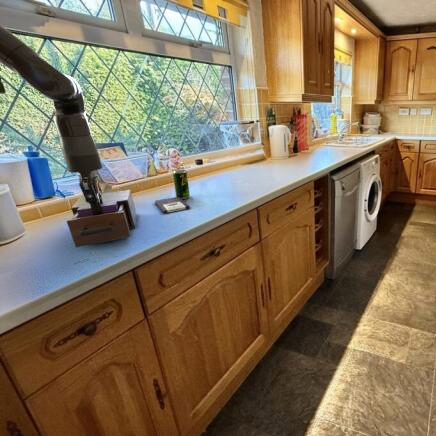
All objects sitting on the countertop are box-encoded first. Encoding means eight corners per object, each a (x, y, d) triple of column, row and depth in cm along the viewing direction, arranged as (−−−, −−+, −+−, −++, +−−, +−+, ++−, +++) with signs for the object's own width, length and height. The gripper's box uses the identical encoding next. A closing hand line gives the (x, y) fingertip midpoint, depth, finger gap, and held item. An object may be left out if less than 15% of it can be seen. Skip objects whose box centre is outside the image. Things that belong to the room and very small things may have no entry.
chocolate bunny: (98, 208, 120) (91, 183, 117) (118, 202, 127) (111, 179, 123) (106, 209, 118) (99, 185, 114) (126, 204, 124) (120, 180, 121)
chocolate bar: (178, 196, 129) (189, 205, 115) (178, 198, 129) (189, 208, 116) (155, 200, 124) (163, 211, 110) (155, 202, 124) (163, 213, 111)
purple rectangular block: (79, 218, 84) (76, 210, 83) (82, 214, 87) (79, 206, 87) (117, 212, 88) (115, 204, 87) (118, 209, 92) (116, 201, 91)
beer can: (173, 198, 128) (169, 170, 125) (182, 195, 134) (178, 168, 130) (184, 199, 127) (180, 171, 124) (192, 196, 132) (189, 169, 129)
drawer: (129, 242, 84) (122, 216, 82) (72, 254, 79) (62, 226, 76) (132, 222, 100) (126, 200, 97) (85, 230, 94) (77, 207, 92)
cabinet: (135, 228, 97) (127, 199, 94) (81, 238, 91) (71, 207, 88) (136, 215, 110) (130, 189, 107) (89, 222, 104) (81, 196, 101)
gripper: (93, 154, 78) (112, 217, 84) (101, 149, 89) (117, 204, 95) (56, 157, 74) (79, 222, 80) (69, 151, 86) (88, 208, 92)
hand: (99, 212), depth 88 cm, fingers closed on purple rectangular block, 4 cm apart
